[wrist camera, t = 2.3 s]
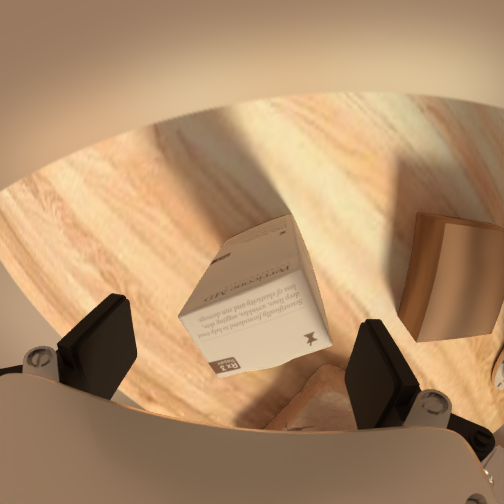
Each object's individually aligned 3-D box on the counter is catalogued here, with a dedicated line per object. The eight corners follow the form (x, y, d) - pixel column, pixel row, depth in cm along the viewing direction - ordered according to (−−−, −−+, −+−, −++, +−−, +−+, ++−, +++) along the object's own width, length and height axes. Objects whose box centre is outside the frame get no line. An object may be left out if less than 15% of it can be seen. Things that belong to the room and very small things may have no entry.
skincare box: (291, 210, 22) (306, 256, 10) (312, 260, 23) (340, 345, 11) (221, 240, 23) (169, 310, 12) (245, 287, 24) (218, 383, 13)
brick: (320, 359, 26) (326, 390, 22) (379, 381, 27) (390, 409, 22) (248, 438, 31) (245, 465, 27) (301, 452, 31) (302, 478, 27)
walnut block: (489, 222, 20) (519, 234, 16) (468, 311, 23) (491, 333, 19) (416, 211, 21) (445, 223, 16) (396, 314, 24) (416, 342, 19)
